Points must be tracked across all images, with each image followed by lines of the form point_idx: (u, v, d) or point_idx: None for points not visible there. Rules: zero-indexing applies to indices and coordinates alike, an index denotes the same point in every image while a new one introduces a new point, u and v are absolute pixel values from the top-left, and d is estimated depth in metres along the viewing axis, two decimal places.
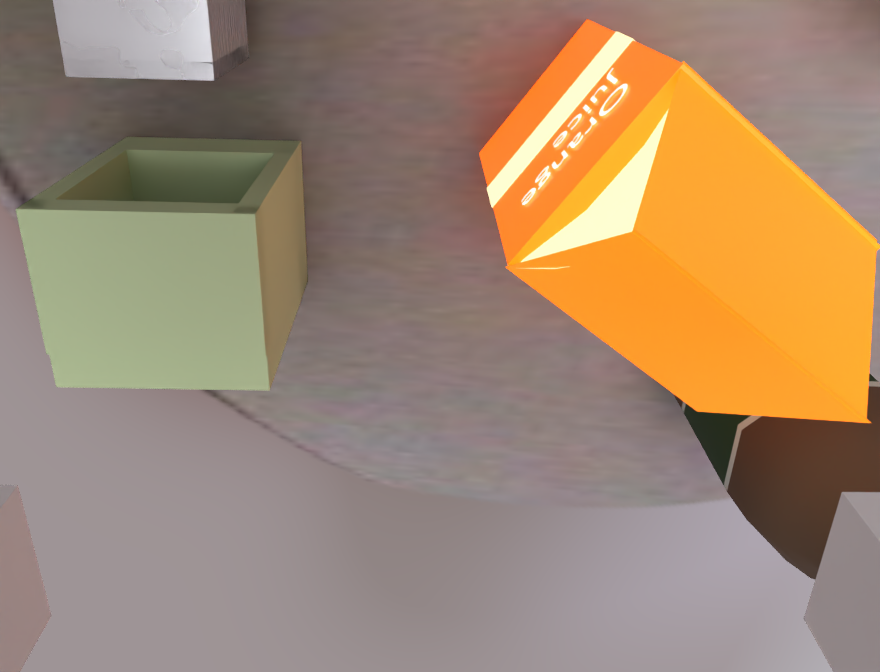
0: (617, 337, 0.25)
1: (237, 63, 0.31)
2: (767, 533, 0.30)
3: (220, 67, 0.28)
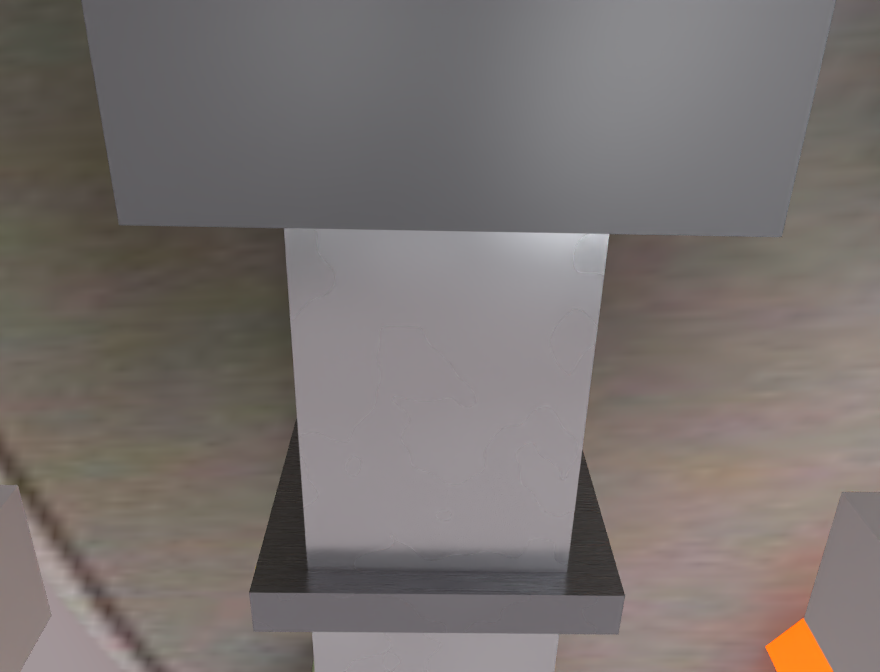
0: None
1: None
2: None
3: None
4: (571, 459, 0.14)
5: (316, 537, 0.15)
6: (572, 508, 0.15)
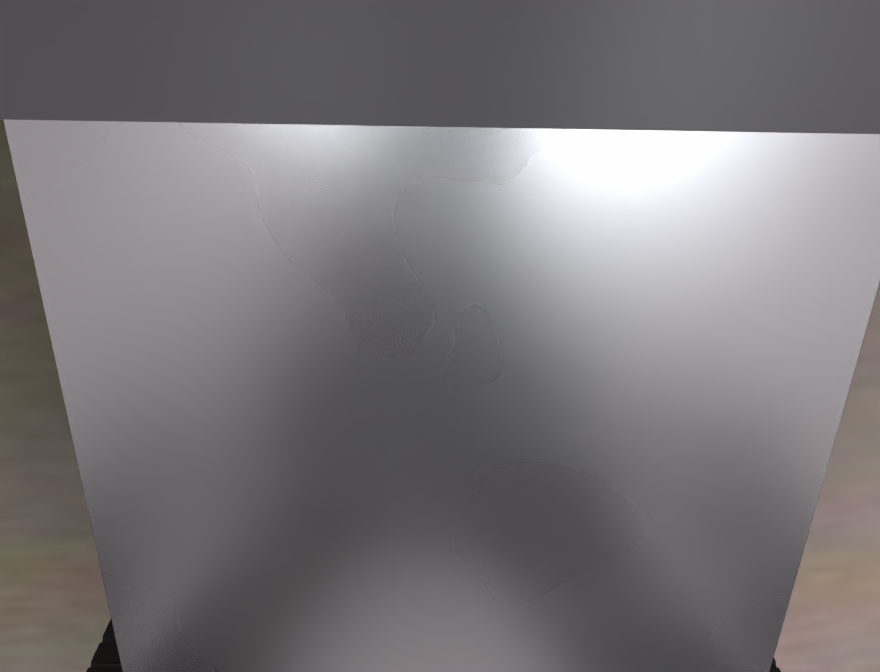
0: None
1: None
2: None
3: None
4: None
5: None
6: None
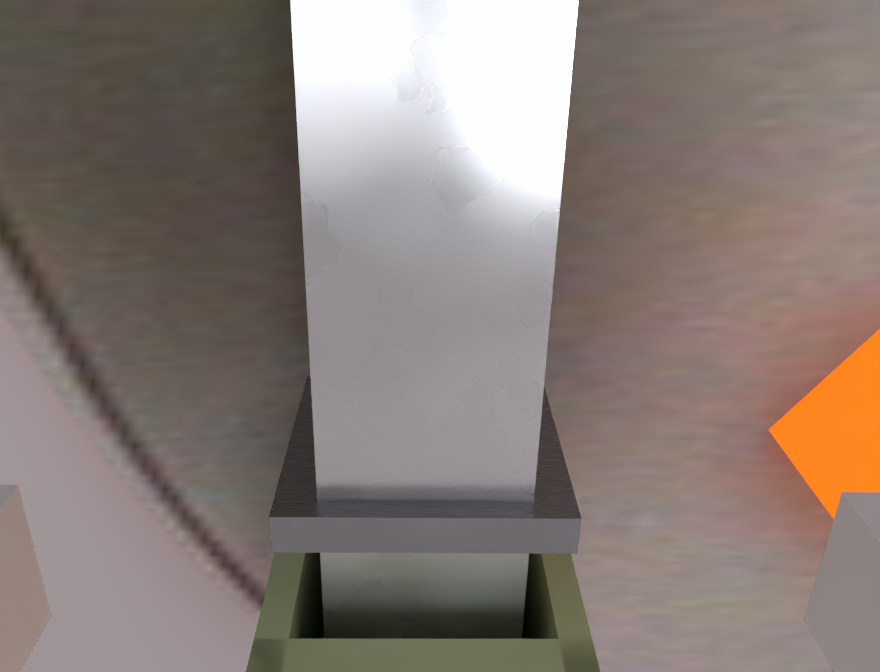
0: None
1: None
2: None
3: None
4: (534, 402, 0.17)
5: (324, 471, 0.18)
6: (536, 445, 0.18)
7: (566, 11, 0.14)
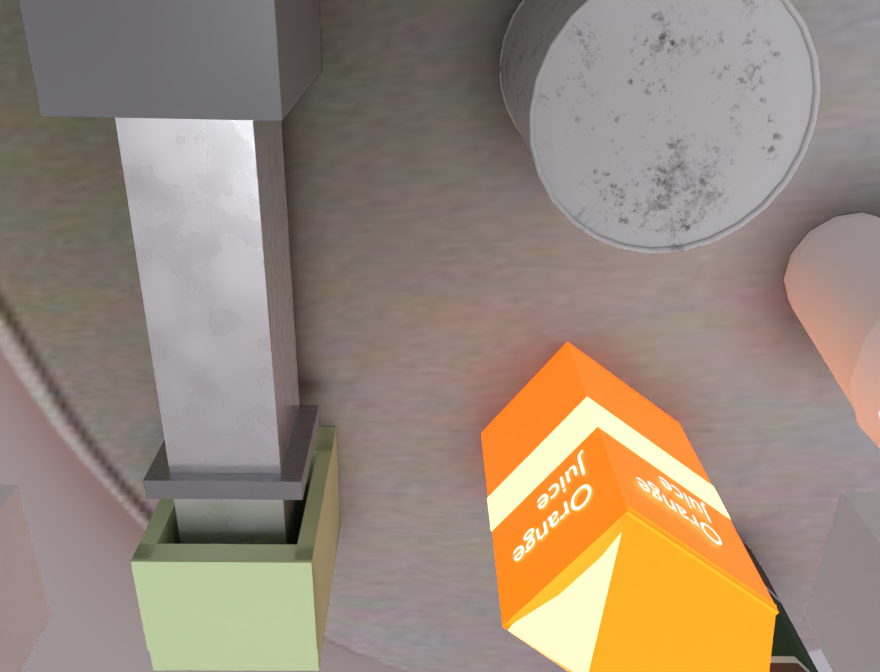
0: None
1: None
2: None
3: None
4: (273, 423, 0.35)
5: (172, 457, 0.36)
6: (277, 444, 0.36)
7: (258, 254, 0.32)
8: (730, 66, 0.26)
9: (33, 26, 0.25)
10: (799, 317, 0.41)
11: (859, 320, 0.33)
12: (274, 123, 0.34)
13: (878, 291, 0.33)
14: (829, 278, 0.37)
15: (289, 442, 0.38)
